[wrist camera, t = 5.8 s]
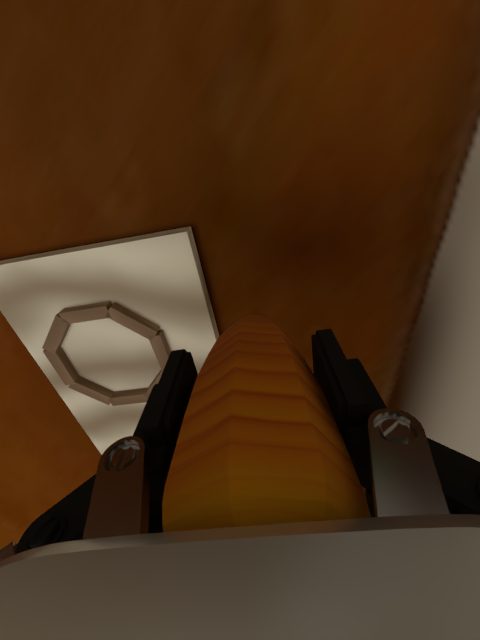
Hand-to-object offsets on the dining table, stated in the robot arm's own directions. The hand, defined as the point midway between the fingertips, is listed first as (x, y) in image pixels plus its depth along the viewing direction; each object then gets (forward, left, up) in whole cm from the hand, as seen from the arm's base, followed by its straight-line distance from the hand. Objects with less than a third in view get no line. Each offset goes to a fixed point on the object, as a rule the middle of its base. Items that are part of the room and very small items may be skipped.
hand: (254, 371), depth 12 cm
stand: (-8, +11, -11) cm, 17 cm away
